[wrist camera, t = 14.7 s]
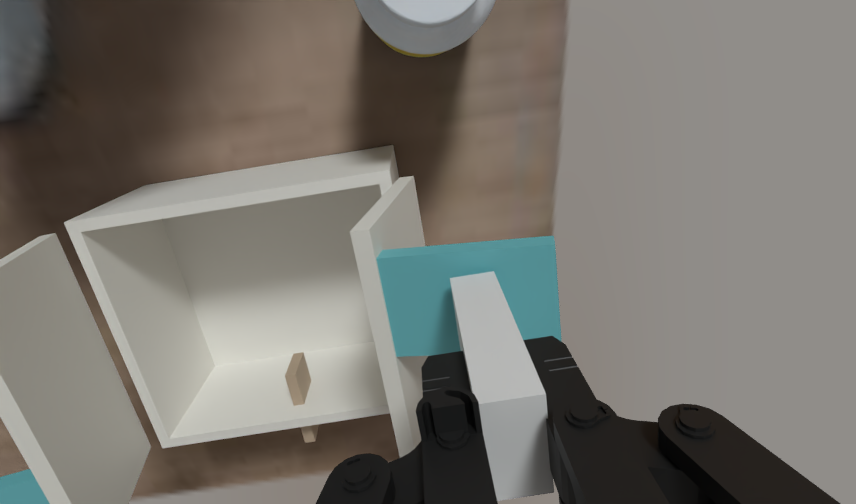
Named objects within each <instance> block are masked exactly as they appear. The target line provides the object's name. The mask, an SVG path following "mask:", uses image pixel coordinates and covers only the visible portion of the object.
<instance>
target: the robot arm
mask: <svg viewBox="0 0 856 504" xmlns="http://www.w3.org/2000/svg"><path fill="white" fill-rule="evenodd" d="M450 284H451V290H452V297H453V304H454V310H455V317H456V324H457V330H458V337H459V344H460V350H461V351H458V352H451V353H445V354H438V355H432V356H428V357H427V359H426V361H425V362H424V364H423V366H422V367H421V371H422V390H423V398H422V399H421V400H420V401H419V402H418V404H417V408H416V415H417V420H418V425H419V430H420V435H421V442H420V443H419V444H418V445H417V447H416V448H415V449H413V450H412V451H411V452H410V453H408V454H407V455H405V456H403V457H401V458H399V459H397V460H394V461H392V462H389V463H388V462H387V461H386V460H385V459H383V458H382V457H381V456H379V455H374V454H360V455H355V456H353V457H351V458H348V459H346V460H344V461H343V462H342V463H340V464H339V465H338V466H336V467H335V468H334V470H333V471H332V473H331V474H330V475H329V477H328V479H327V481H326V484H325V485H324V488H323V490H322V492H321V494H320V496H319V498H318V500H317V502H316V504H498V503H497V501H500V500H506V499H514V498H520V497H527V496H534V495H540V494H547V493H553V492H554V485H553V479H554V482H555V485H556V487H557V490H558V493H559V502H560V504H840V503H839V502H837V501H836V500H835V499H833V498H832V497H831V496H829V495H828V494H827V493H825V492H824V491H822V490H821V489H820V488H819V487H817V486H816V485H815V484H813V483H812V482H810V481H809V480H808V479H806V478H805V477H804V476H802V475H801V474H800V473H798V472H797V471H796V470H794V469H793V468H792V467H790V466H789V465H788V464H786V463H785V462H784V461H782V460H781V459H780V458H778V457H777V456H776V455H774V454H773V453H772V452H770V451H769V450H768V449H766V448H765V447H764V446H762V445H761V444H760V443H758V442H757V441H756V440H754V439H753V438H751V437H750V436H749V435H747V434H746V433H745V432H743V431H742V430H741V429H739V428H738V427H737V426H735V425H734V424H733V423H731V422H730V421H729V420H727V419H726V418H725V417H723V416H722V415H720V414H718V413H717V412H715V411H713V410H711V409H709V408H705V407H702V406H698V405H692V404H679V405H674V406H670V407H668V408H667V409H665V410H663V411H662V412H661V414H660V416H659V418H658V422H647V421H636V420H629V419H625V418H621V417H618V416H617V415H616V413H615V412H614V411H613V410H612V409H611V408H610V407H609V406H608V405H607V404H605V403H603V402H601V401H599V400H597V399H596V398H595V396H594V394H593V393H592V390H591V389H590V387H589V385H588V384H587V382H586V380H585V378H584V376H583V375H582V373H581V371H580V370H579V368H578V367H577V364H576V362H575V361H574V359H573V358H572V355H571V354H570V352H569V350H568V348H567V347H566V345H565V344H564V343H562V342H561V341H560V340H558V339H557V338H555V337H554V336H547V337H540V338H534V339H527V340H523V339H522V336H521V334H520V331H519V329H518V327H517V324H516V322H515V320H514V317H513V315H512V313H511V310H510V308H509V306H508V303H507V301H506V298H505V296H504V294H503V291H502V289H501V287H500V284H499V282H498V280H497V277H496V275H495V273H494V271H492V272H485V273H479V274H473V275H466V276H460V277H453V278H450Z"/></svg>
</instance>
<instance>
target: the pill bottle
mask: <svg viewBox="0 0 856 504" xmlns="http://www.w3.org/2000/svg"><path fill="white" fill-rule="evenodd" d="M495 1H496V0H355V3H356V5H357V7H358V9H359V11H360V13H361V15H362V17H363V19H364V20H365V22H366V23H367V25H368V26H369V27H370V28H371V29H372V31H373V32H374V33H375V34H376V35H377V36H378V37H379V38H380V39H381V40H382V41H383V42H384V43H385V44H386V45H387V46H389V47H390V48H391V49H393V50H395V51H397V52H399V53H401V54H404V55H407V56H411V57H431V56H436V55H439V54H441V53H444V52H446V51H448V50H450V49H452V48H454V47H457V46H458V45H460V44H462V43H463V42H465V41H466V40H467V39H469V38H470V37H471V36H472V35H473V34H474V33H475V32H476V31H477V30H478V29H479V28H480V27H481V26H482V25H483V23H484V22H485V20H486V19H487V17H488V16H489V14H490V12H491V10H492V8H493V6H494V3H495Z"/></svg>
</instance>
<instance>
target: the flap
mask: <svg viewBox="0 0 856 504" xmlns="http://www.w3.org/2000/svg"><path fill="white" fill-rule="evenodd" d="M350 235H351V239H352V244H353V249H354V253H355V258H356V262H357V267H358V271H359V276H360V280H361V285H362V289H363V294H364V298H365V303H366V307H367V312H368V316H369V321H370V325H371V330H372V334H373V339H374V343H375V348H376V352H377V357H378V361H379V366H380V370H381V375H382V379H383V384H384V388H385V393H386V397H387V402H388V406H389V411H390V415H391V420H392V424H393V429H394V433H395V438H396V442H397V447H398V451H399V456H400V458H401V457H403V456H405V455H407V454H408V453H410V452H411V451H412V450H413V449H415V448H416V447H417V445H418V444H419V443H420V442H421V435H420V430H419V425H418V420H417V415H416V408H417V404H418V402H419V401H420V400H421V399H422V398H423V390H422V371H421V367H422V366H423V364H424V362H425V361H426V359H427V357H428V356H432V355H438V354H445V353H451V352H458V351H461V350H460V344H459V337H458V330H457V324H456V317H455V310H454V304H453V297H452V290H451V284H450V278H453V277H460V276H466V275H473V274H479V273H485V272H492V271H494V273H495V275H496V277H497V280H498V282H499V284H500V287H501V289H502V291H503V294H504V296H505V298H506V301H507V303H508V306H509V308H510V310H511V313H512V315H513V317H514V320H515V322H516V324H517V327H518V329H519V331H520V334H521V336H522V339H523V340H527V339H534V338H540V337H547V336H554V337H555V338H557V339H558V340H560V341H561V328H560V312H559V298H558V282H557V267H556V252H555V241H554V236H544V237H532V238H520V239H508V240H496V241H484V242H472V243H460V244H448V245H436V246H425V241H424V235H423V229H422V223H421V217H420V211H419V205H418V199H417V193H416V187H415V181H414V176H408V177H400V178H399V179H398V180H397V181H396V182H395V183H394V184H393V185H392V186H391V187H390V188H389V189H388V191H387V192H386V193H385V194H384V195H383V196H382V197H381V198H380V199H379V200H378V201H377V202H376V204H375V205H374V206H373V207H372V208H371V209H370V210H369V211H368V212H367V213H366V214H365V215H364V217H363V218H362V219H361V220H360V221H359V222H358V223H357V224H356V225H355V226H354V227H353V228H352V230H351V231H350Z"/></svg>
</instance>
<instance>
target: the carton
mask: <svg viewBox="0 0 856 504" xmlns="http://www.w3.org/2000/svg"><path fill="white" fill-rule="evenodd" d="M398 179H399V174H398V169H397V163H396V157H395V152H394V146H393V145H389V146H383V147H377V148H371V149H364V150H358V151H352V152H346V153H340V154H334V155H328V156H321V157H315V158H309V159H303V160H297V161H291V162H284V163H278V164H272V165H266V166H260V167H254V168H247V169H241V170H235V171H229V172H223V173H217V174H210V175H204V176H198V177H192V178H186V179H180V180H174V181H167V182H161V183H155V184H149V185H144V186H142V187H140V188H138V189H135V190H133V191H131V192H129V193H127V194H125V195H122V196H120V197H118V198H116V199H114V200H111V201H109V202H107V203H105V204H103V205H101V206H98V207H96V208H94V209H92V210H90V211H88V212H85V213H83V214H81V215H79V216H77V217H74V218H72V219H70V220H68V221H66V222H64V224H65V227H66V229H67V231H68V234H69V236H70V238H71V240H72V243H73V245H74V247H75V250H76V252H77V254H78V256H79V259H80V261H81V263H82V266H83V268H84V270H85V272H86V275H87V277H88V279H89V282H90V284H91V286H92V288H93V291H94V293H95V295H96V298H97V300H98V302H99V304H100V307H101V309H102V311H103V314H104V316H105V318H106V320H107V323H108V325H109V327H110V330H111V332H112V334H113V336H114V339H115V341H116V343H117V346H118V348H119V350H120V352H121V355H122V357H123V359H124V362H125V364H126V366H127V368H128V371H129V373H130V375H131V378H132V380H133V382H134V384H135V387H136V389H137V391H138V394H139V396H140V398H141V400H142V403H143V405H144V407H145V409H146V412H147V414H148V416H149V419H150V421H151V423H152V425H153V428H154V430H155V432H156V435H157V437H158V439H159V441H160V444H161V446H162V448H168V447H175V446H181V445H188V444H194V443H201V442H207V441H214V440H220V439H227V438H233V437H240V436H246V435H253V434H259V433H266V432H272V431H279V430H285V429H291V428H298V427H300V428H301V431H302V434H303V437H304V441H305V443H308V442H314V441H315V440H316V436H317V432H318V428H319V424H324V423H330V422H337V421H343V420H350V419H356V418H363V417H369V416H376V415H382V414H389V413H390V411H389V406H388V402H387V397H386V393H385V388H384V384H383V379H382V375H381V370H380V366H379V361H378V357H377V352H376V348H375V343H374V339H373V334H372V330H371V325H370V321H369V316H368V312H367V307H366V303H365V298H364V294H363V289H362V285H361V280H360V276H359V271H358V267H357V262H356V258H355V253H354V249H353V244H352V239H351V235H350V231H351V230H352V228H353V227H354V226H355V225H356V224H357V223H358V222H359V221H360V220H361V219H362V218H363V217H364V215H365V214H366V213H367V212H368V211H369V210H370V209H371V208H372V207H373V206H374V205H375V204H376V202H377V201H378V200H379V199H380V198H381V197H382V196H383V195H384V194H385V193H386V192H387V191H388V189H389V188H390V187H391V186H392V185H393V184H394V183H395V182H396V181H397V180H398Z"/></svg>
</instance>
